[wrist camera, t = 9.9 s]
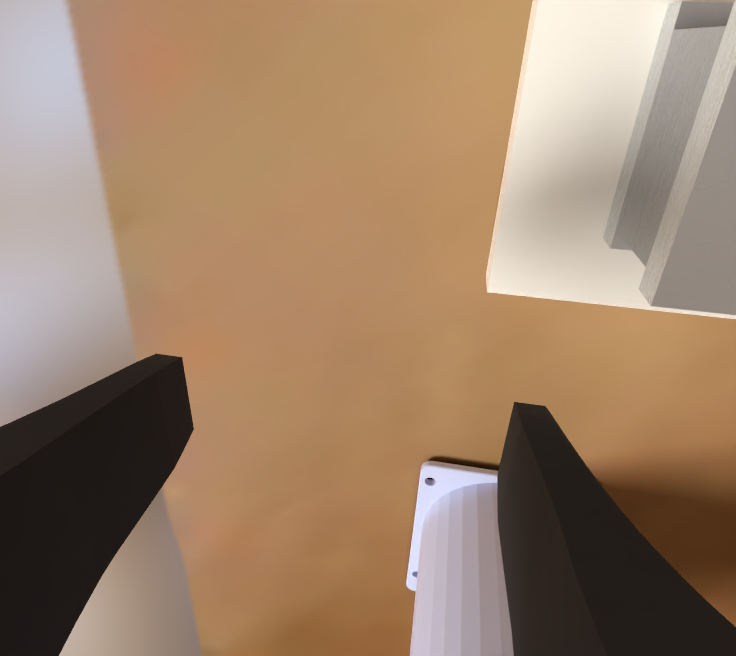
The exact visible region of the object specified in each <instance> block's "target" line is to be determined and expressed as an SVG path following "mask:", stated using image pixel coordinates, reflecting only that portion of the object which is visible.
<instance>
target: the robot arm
mask: <svg viewBox="0 0 736 656" xmlns="http://www.w3.org/2000/svg"><path fill="white" fill-rule="evenodd" d="M193 429H194V428H193V422H192V415H191V409H190V403H189V397H188V391H187V385H186V379H185V373H184V367H183V361H182V357H176V356H169V355H161V354H155V355H152V356H150V357H147V358H145V359H143V360H141V361H138V362H136V363H134V364H132V365H130V366H128V367H126V368H124V369H122V370H120V371H118V372H116V373H114V374H112V375H110V376H108V377H106V378H104V379H102V380H100V381H98V382H96V383H94V384H92V385H89V386H87V387H85V388H83V389H81V390H80V391H77V392H75V393H73V394H71V395H69V396H67V397H65V398H63V399H61V400H59V401H57V402H55V403H52V404H50V405H48V406H46V407H44V408H42V409H39V410H37V411H35V412H33V413H30V414H28V415H26V416H24V417H22V418H19V419H17V420H15V421H13V422H11V423H8V424H6V425H4V426H1V427H0V656H59V654H60V652H61V650H62V648H63V646H64V644H65V643H66V641H67V639H68V637H69V635H70V633H71V631H72V629H73V627H74V625H75V623H76V621H77V619H78V618H79V616H80V614H81V612H82V611H83V609H84V607H85V605H86V603H87V601H88V600H89V598H90V596H91V594H92V593H93V591H94V589H95V587H96V585H97V583H98V582H99V580H100V578H101V576H102V575H103V573H104V572H105V570H106V568H107V567H108V565H109V564H110V562H111V561H112V559H113V557H114V556H115V554H116V553H117V551H118V550H119V548H120V547H121V546H122V544H123V543H124V541H125V540H126V538H127V537H128V535H129V534H130V532H131V531H132V530H133V528H134V527H135V525H136V524H137V522H138V521H139V520H140V518H141V516H142V515H143V514H144V512H145V511H146V509H147V508H148V506H149V505H150V504H151V502H152V501H153V499H154V498H155V496H156V495H157V493H158V492H159V490H160V489H161V487H162V486H163V484H164V483H165V481H166V480H167V478H168V477H169V475H170V474H171V472H172V471H173V469H174V468H175V466H176V464H177V462H178V460H179V458H180V456H181V454H182V452H183V450H184V448H185V446H186V444H187V442H188V440H189V438H190V436H191V434H192V432H193ZM427 478H433V480H430V479H427ZM406 584H407V587H408V588H409V589H411V590H413V591H416V595H415V606H414V617H413V628H412V638H411V649H410V656H736V627H735V626H734V625H732V624H731V623H730V622H729V621H728V620H727V619H726V618H725V617H724V616H723V615H721V614H720V613H719V612H718V611H717V610H716V609H715V608H714V607H713V606H712V605H711V604H709V603H708V602H707V601H706V600H705V599H704V598H703V597H702V596H701V595H700V594H699V593H698V592H697V591H696V590H695V589H694V588H693V587H692V586H691V585H690V584H688V583H687V582H686V581H685V580H684V579H683V578H682V577H681V576H680V574H679V573H678V572H677V571H676V570H675V569H674V568H673V567H672V566H671V565H670V564H669V563H668V562H667V561H666V560H665V559H664V558H663V557H662V556H661V555H660V554H659V553H658V552H657V551H656V550H655V549H654V548H653V547H652V545H651V544H650V543H649V542H648V541H647V540H646V539H645V538H644V537H643V536H642V534H641V533H640V532H639V531H638V530H637V529H636V528H635V526H634V525H633V524H632V523H631V522H630V520H629V519H628V518H627V517H626V516H625V515H624V513H623V512H622V511H621V510H620V509H619V507H618V506H617V505H616V504H615V502H614V501H613V500H612V499H611V497H610V496H609V495H608V494H607V492H606V491H605V490H604V488H603V487H602V486H601V484H600V483H599V482H598V480H597V479H596V478H595V476H594V475H593V474H592V472H591V471H590V470H589V468H588V467H587V466H586V464H585V463H584V462H583V460H582V459H581V457H580V456H579V455H578V453H577V452H576V450H575V449H574V447H573V446H572V444H571V443H570V442H569V440H568V439H567V437H566V436H565V434H564V433H563V431H562V430H561V428H560V427H559V425H558V424H557V422H556V421H555V419H554V418H553V416H552V415H551V413H550V412H549V410H548V409H547V408H546V407H545V406H540V405H533V404H525V403H518V402H514V406H513V410H512V414H511V419H510V423H509V427H508V432H507V436H506V440H505V444H504V449H503V453H502V457H501V462H500V466H499V470H498V471H496V470H489V469H483V468H476V467H469V466H463V465H456V464H450V463H443V462H436V461H427V462H425V463H423V464H422V466H421V473H420V480H419V488H418V496H417V504H416V512H415V519H414V527H413V535H412V543H411V550H410V558H409V566H408V574H407V582H406Z"/></svg>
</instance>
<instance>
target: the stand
mask: <svg viewBox="0 0 736 656" xmlns="http://www.w3.org/2000/svg"><path fill="white" fill-rule="evenodd" d="M681 1H687V2H717V3H734V1H735V0H533V2H532V8H531V14H530V20H529V26H528V32H527V37H526V43H525V49H524V55H523V61H522V67H521V73H520V78H519V84H518V90H517V96H516V102H515V108H514V114H513V120H512V125H511V131H510V137H509V143H508V149H507V155H506V161H505V166H504V172H503V178H502V184H501V190H500V196H499V202H498V207H497V213H496V219H495V225H494V231H493V237H492V243H491V248H490V254H489V260H488V266H487V272H486V283H487V292H491V293H500V294H510V295H519V296H528V297H537V298H546V299H556V300H565V301H574V302H583V303H592V304H601V305H611V306H620V307H629V308H638V309H647V310H657V311H666V312H675V313H684V314H693V315H702V316H712V317H721V318H730V319H736V315H729V314H719V313H710V312H700V311H691V310H681V309H672V308H662V307H653V306H650V304H649V303H648V302H647V300H646V299H645V297H644V296H643V294H642V293H641V292H640V290H639V286H640V283H641V280H642V277H643V274H644V271H645V268H646V267H645V266H644V264H643V263H642V262H641V261H640V259H639V258H638V257H637V256H636V254H635V253H634V252H633V251H632V250H621V249H610V247H609V246H608V245H607V243H606V242H605V240H604V239H603V235H604V231H605V228H606V224H607V221H608V217H609V214H610V210H611V206H612V203H613V199H614V196H615V192H616V188H617V185H618V181H619V178H620V174H621V171H622V167H623V163H624V160H625V156H626V153H627V149H628V146H629V142H630V138H631V135H632V131H633V128H634V124H635V120H636V117H637V113H638V110H639V106H640V103H641V99H642V95H643V92H644V88H645V85H646V81H647V78H648V74H649V70H650V67H651V63H652V60H653V56H654V52H655V49H656V45H657V42H658V38H659V35H660V31H661V27H662V24H663V20H664V17H665V13H666V10H667V6H668V4H671V3H676V2H681Z"/></svg>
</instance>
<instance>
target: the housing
mask: <svg viewBox="0 0 736 656" xmlns="http://www.w3.org/2000/svg"><path fill="white" fill-rule="evenodd" d="M603 239H604V240H605V242H606V243H607V245H608V246H609V247H610V249H621V250H632V251H633V252H634V253H635V254H636V256H637V257H638V258H639V259H640V261H641V262H642V263H643V264H644V266H645V267H646V268H645V271H644V274H643V277H642V280H641V283H640V286H639V290H640V292H641V293H642V294H643V296H644V297H645V299H646V300H647V302H648V303H649V304H650V306H653V307H662V308H672V309H681V310H691V311H700V312H710V313H719V314H729V315H736V0H735V1H734V3H717V2H687V1H681V2H676V3H671V4H668V6H667V10H666V13H665V17H664V20H663V24H662V27H661V31H660V35H659V38H658V42H657V45H656V49H655V52H654V56H653V60H652V63H651V67H650V70H649V74H648V78H647V81H646V85H645V88H644V92H643V95H642V99H641V103H640V106H639V110H638V113H637V117H636V120H635V124H634V128H633V131H632V135H631V138H630V142H629V146H628V149H627V153H626V156H625V160H624V163H623V167H622V171H621V174H620V178H619V181H618V185H617V188H616V192H615V196H614V199H613V203H612V206H611V210H610V214H609V217H608V221H607V224H606V228H605V231H604V235H603Z"/></svg>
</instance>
